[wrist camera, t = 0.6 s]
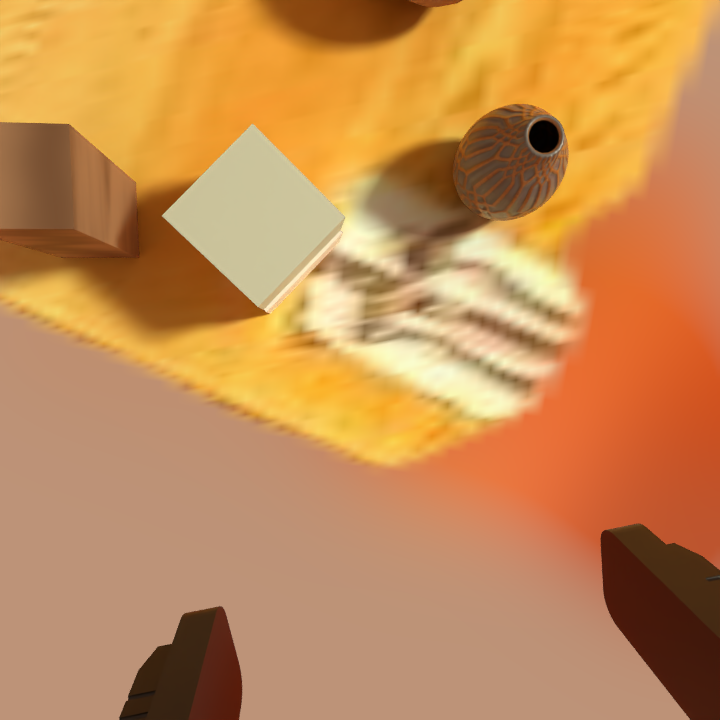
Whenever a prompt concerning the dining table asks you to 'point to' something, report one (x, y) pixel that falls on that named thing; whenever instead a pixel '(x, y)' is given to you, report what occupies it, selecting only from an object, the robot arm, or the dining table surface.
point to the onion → (435, 2)
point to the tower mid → (256, 217)
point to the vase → (510, 162)
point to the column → (64, 194)
